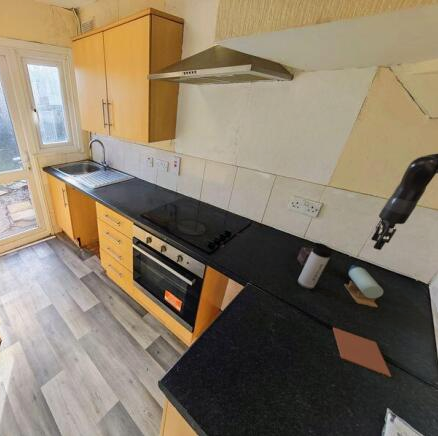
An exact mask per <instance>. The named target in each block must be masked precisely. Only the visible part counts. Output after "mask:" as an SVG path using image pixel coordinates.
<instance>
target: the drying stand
mask: <svg viewBox="0 0 438 436" xmlns="http://www.w3.org/2000/svg"><path fill="white" fill-rule="evenodd" d="M343 285H344V287H345V288H346V290H347V291H348V292H349V294H350V295H351V297H352V298H353V300H354V301H355V302H356V303H357V304H360V305H364V306H368V307H372V308H373V307H374V308H378V307H379V306H378V305H377V303H376V302H375V301H377V298H368V297H366V296H364V294H363V293H362V292H361V290H360V289H359V288H358V287H357V285H356V284H355V283H354V281H353V280H349V284H348V283H344V284H343Z"/></svg>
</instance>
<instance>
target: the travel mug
mask: <svg viewBox="0 0 438 436" xmlns="http://www.w3.org/2000/svg"><path fill="white" fill-rule="evenodd" d="M312 249H313V250H312V252H311V254H310V256H309V258H308V260H307V262H306V264H305V266H303V268H302V271H301V273H300V274H299V277H298V279H297V282H298V284H299V285H300V286H301V287H303V288H306V289H310V290H311V289H314V288H315V286H316V285H317V283H318V281H319V279H320V277H321V275H322V274H323V271H324V269H325V268H326V267H327V266H326V265H327V264H328V262H329V260H330V258H331V255H332V254H333V250H332V248H331V247H329V246H328V245H326V244H324V243H321V242H314V243H313V248H312Z"/></svg>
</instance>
